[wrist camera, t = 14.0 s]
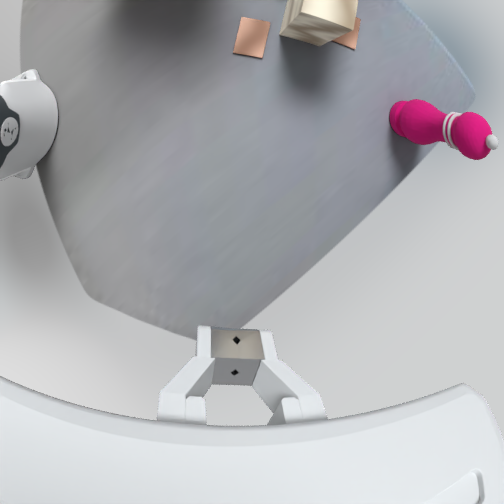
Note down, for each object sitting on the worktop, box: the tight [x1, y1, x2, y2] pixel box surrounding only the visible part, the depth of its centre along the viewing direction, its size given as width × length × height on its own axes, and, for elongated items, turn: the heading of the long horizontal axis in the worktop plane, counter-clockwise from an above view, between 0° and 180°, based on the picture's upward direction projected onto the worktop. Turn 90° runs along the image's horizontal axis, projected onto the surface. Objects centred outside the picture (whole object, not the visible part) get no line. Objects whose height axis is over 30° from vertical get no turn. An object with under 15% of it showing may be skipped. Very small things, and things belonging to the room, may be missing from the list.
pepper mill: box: [390, 99, 498, 160], centre depth 27 cm, size 7×7×20 cm
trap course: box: [233, 17, 361, 58], centre depth 24 cm, size 17×21×4 cm
